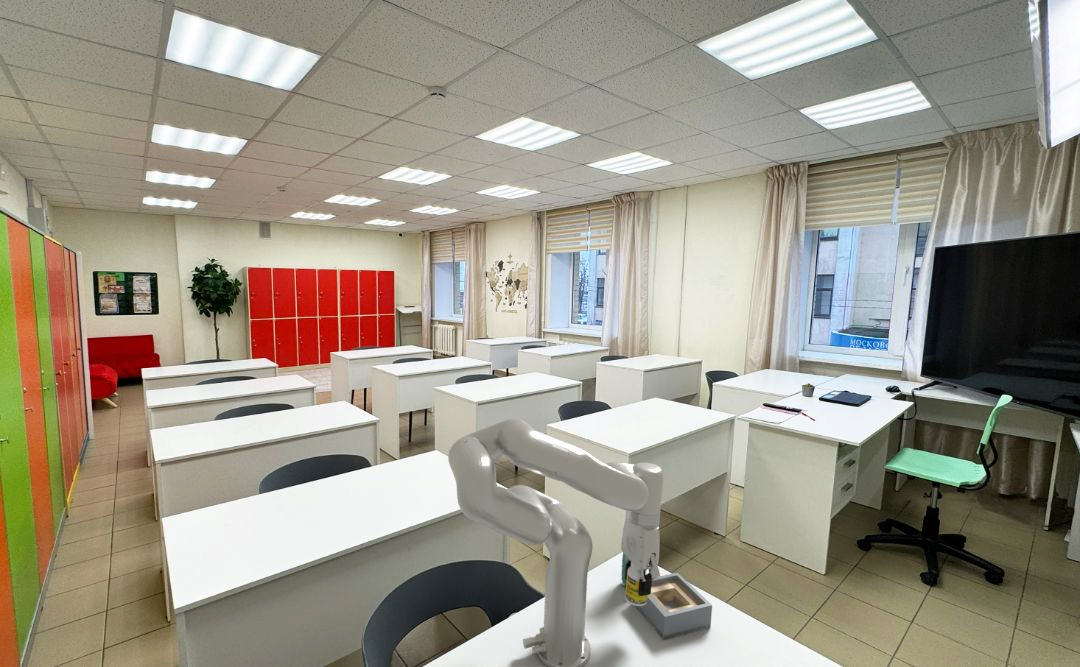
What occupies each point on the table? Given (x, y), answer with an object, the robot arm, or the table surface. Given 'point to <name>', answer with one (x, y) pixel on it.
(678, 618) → the box
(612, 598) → the table surface
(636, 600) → the supplement bottle
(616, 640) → the table surface
